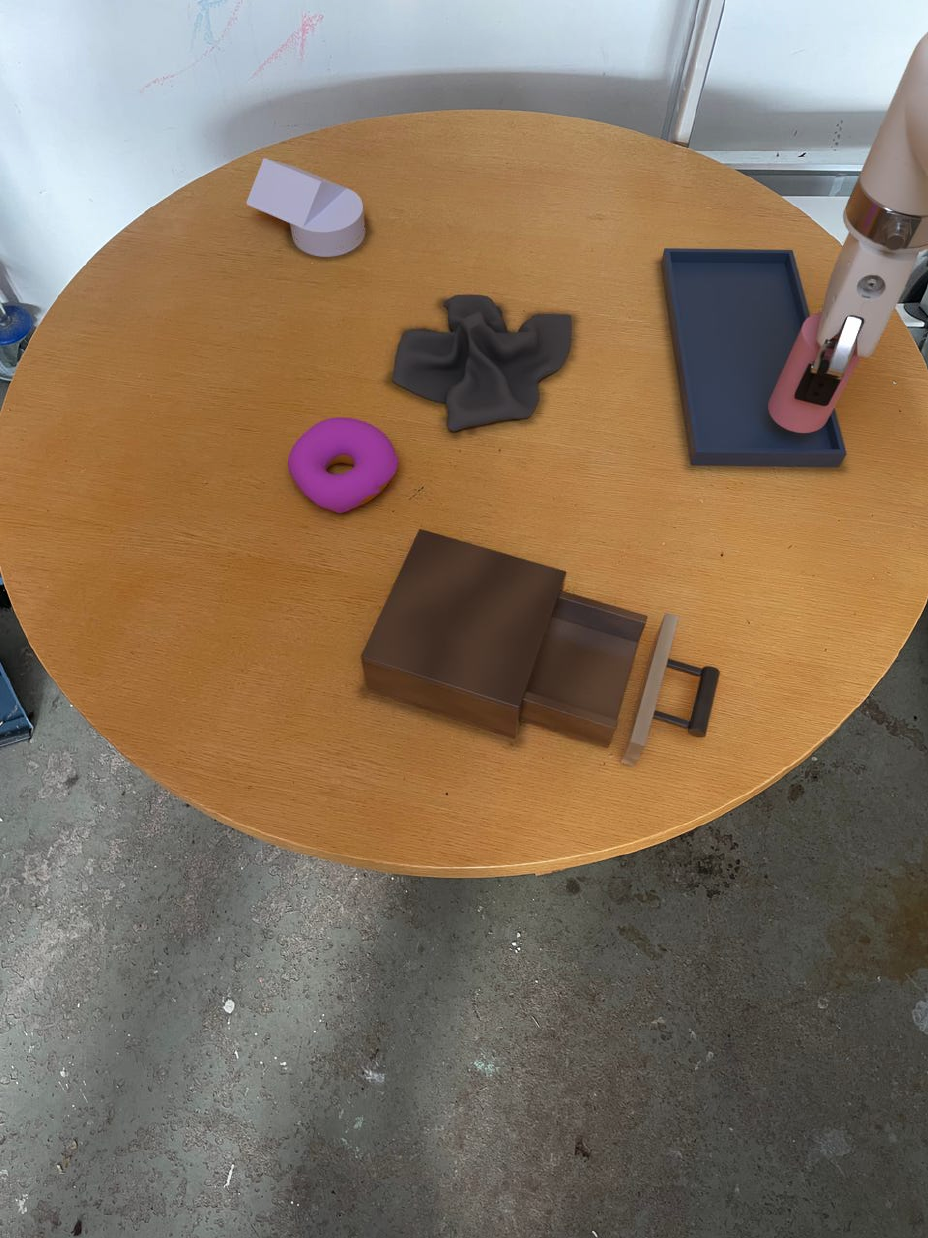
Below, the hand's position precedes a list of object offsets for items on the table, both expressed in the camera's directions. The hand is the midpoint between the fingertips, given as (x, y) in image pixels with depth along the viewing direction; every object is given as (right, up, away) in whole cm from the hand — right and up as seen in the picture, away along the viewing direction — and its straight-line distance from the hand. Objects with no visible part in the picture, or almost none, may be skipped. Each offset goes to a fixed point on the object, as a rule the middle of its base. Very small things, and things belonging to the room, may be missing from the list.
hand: (816, 374), depth 83 cm
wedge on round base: (-52, +25, +24) cm, 63 cm away
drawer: (-21, -30, -8) cm, 37 cm away
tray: (-3, +6, +13) cm, 15 cm away
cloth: (-31, +6, +13) cm, 35 cm away
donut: (-46, -9, +5) cm, 47 cm away
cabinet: (-34, -26, -5) cm, 43 cm away
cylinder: (0, -2, +4) cm, 5 cm away
